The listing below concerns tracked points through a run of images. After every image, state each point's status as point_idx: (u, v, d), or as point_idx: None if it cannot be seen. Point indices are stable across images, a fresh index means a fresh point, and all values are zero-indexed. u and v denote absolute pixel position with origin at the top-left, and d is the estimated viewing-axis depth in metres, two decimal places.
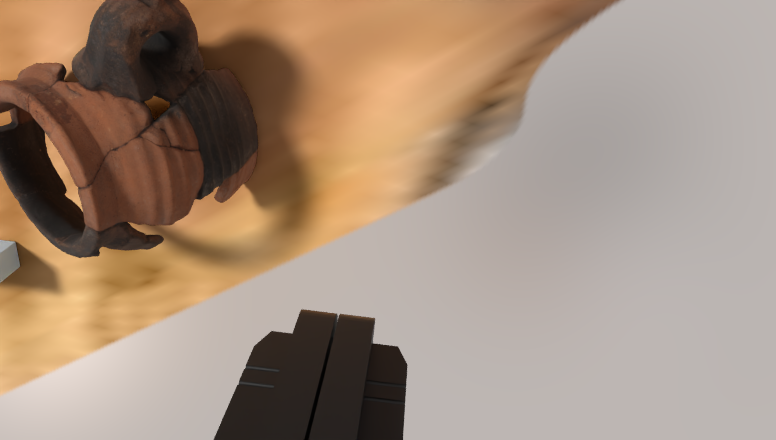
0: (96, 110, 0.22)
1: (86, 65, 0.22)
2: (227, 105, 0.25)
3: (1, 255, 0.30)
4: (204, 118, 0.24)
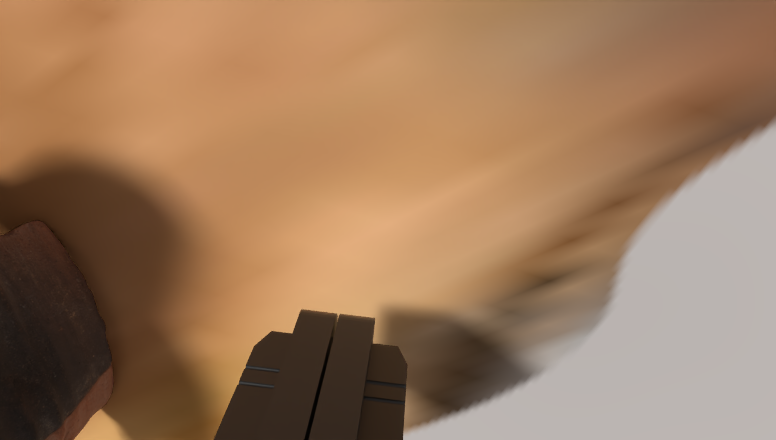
0: None
1: None
2: (23, 311, 0.12)
3: None
4: None
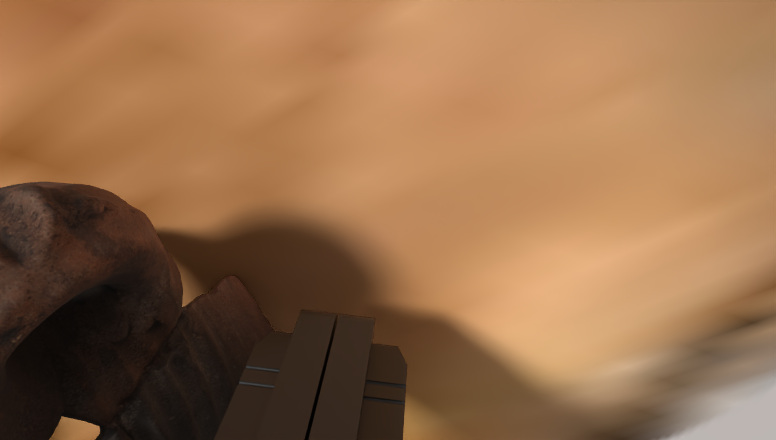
0: None
1: None
2: (233, 371, 0.12)
3: None
4: (182, 434, 0.11)
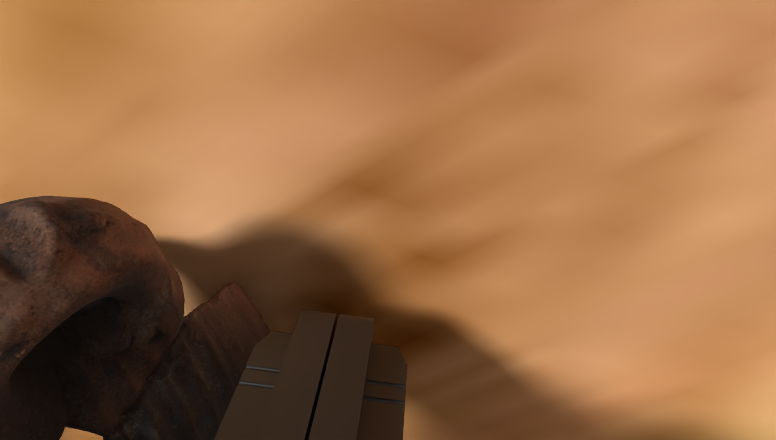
0: None
1: None
2: (235, 378, 0.12)
3: None
4: None
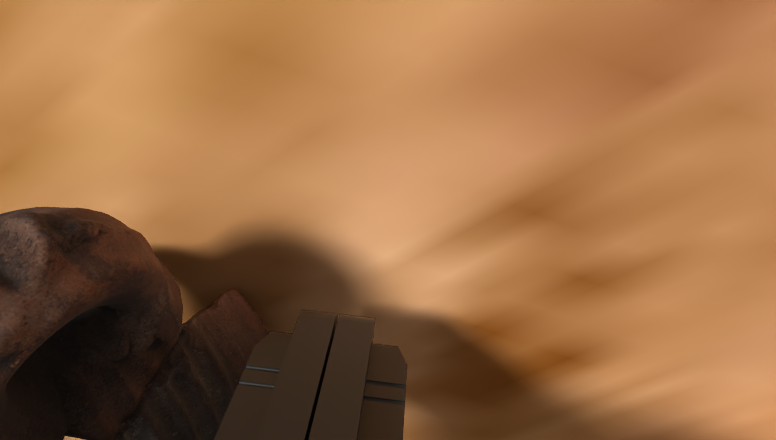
0: None
1: None
2: (236, 384, 0.12)
3: None
4: None
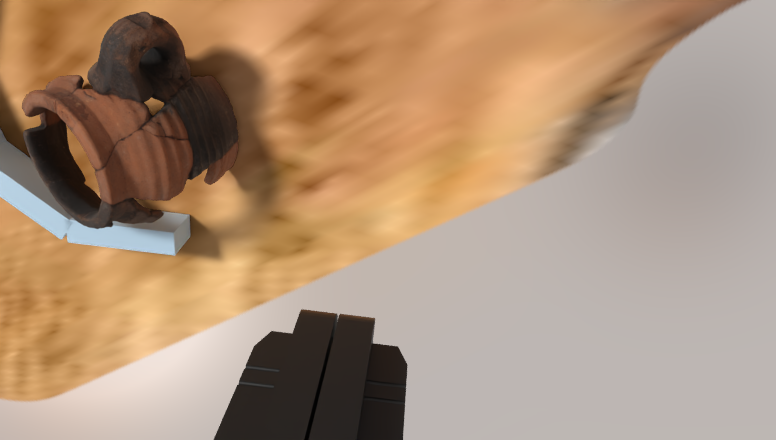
0: (107, 109, 0.28)
1: (98, 75, 0.28)
2: (211, 104, 0.32)
3: (182, 225, 0.36)
4: (191, 114, 0.30)
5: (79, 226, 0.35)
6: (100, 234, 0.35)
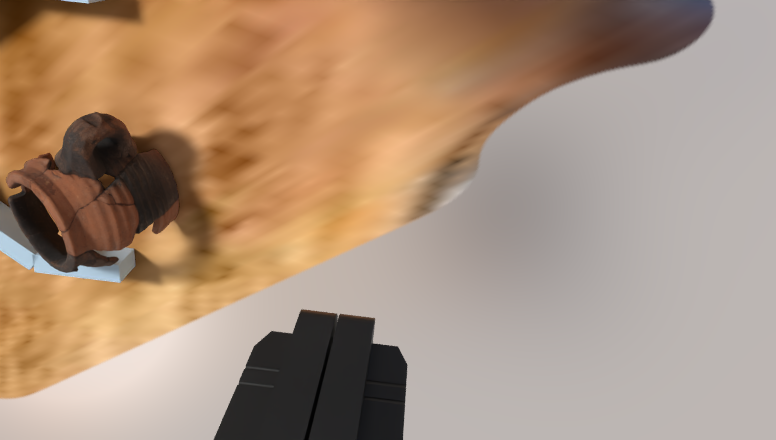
0: (69, 186, 0.37)
1: (62, 160, 0.37)
2: (154, 173, 0.41)
3: (127, 258, 0.45)
4: (137, 184, 0.39)
5: (43, 259, 0.44)
6: None
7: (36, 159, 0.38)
